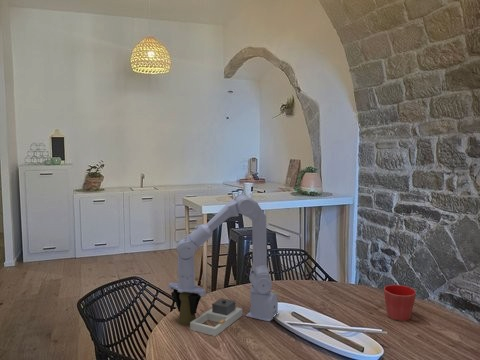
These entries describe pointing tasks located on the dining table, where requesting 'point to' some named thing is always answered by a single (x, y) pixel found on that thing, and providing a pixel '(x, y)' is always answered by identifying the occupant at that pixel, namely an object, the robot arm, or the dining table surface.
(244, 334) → the dining table surface
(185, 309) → the brown pear
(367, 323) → the dining table surface
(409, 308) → the flower pot
